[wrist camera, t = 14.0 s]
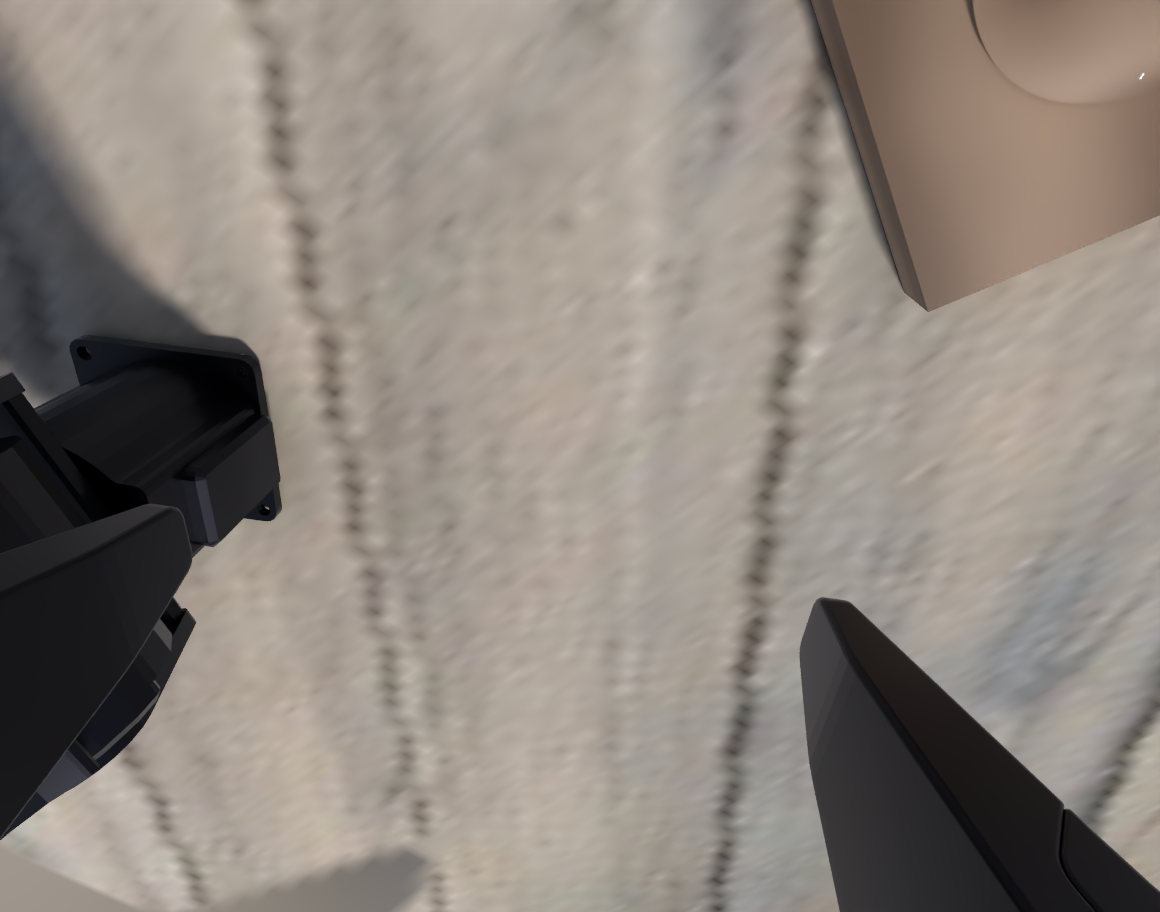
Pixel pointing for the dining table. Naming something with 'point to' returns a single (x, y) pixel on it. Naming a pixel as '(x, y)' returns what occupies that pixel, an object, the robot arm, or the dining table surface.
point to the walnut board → (979, 149)
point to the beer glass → (1074, 47)
